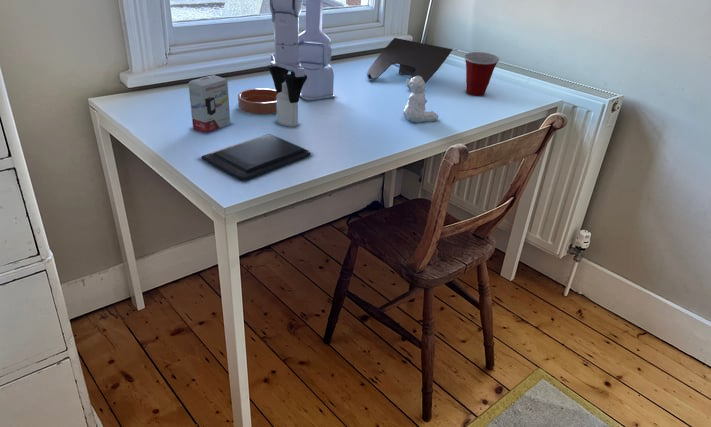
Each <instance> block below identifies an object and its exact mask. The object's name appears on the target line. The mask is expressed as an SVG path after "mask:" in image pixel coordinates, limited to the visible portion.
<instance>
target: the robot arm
mask: <svg viewBox="0 0 711 427" xmlns="http://www.w3.org/2000/svg"><path fill="white" fill-rule="evenodd" d="M302 8H303V0H269V10H270V13H271V22H272V23H273V35H274V36H273V37H274V39H273V40H274V53H272V54H270V64H269V65H267V69H268V71H269V74H270V76H271V78H272V81H273V85H274V88H275V89H274V90H276V93H277V94H278V93H279V92H282V83H284V82H286V85H287V89H288V97H289V101H290V103H297V102H298V103H299V101H300V98H302V99H303V100H305V101H309V102H310V101H315V100H323V99H331V98H335V95H334V82H335V81H334V80H335V74H334V70H333V68H332V66H331V65H330V64H331V60H332V41H331V38H330V37H329V36H328V35H327V34H326V33H325V32H324V31H323V12H324V11H323V10H324V0H305V23H304V24H305V25H304V31H303V32H301V33H299V32H300V30H299V17H300V15H301V13H302ZM289 72H290V73H289Z"/></svg>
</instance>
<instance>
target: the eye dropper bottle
mask: <svg viewBox="0 0 711 427" xmlns="http://www.w3.org/2000/svg"><path fill="white" fill-rule="evenodd" d="M276 108H277V113H276V122H277V124H279V125H281V126H285V127H289V128H293V127H296V126H298V124H299V101H298V102H297V103H290V101H289V97H288V89H287V85H286V82H284V83H282V92H279V93H278V94H277V96H276Z"/></svg>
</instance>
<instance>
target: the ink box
mask: <svg viewBox="0 0 711 427" xmlns="http://www.w3.org/2000/svg"><path fill="white" fill-rule="evenodd" d="M228 82H229V81H228V79H227V78H225V77H221V76H219V75H218V76H217V75H215V74H213V75H208V76H204V77H200V78H197V79H192V80H190V81H189V82H188V93H189V102H190V111H191V120H192V122H191V123H192V129H193V130H196V131H199V132H202V133H206V134H208V133H210V132H214V131H216V130H218V129H221V128H224V127H226V126H229V125H231V113H230V112H231V110H230V98H229V96H230V95H229V84H228Z"/></svg>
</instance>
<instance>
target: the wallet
mask: <svg viewBox="0 0 711 427" xmlns="http://www.w3.org/2000/svg"><path fill="white" fill-rule="evenodd" d="M310 156H311V152H310V150H309V149H307V148H304V147H302V146H300V145H297V144H295V143H292V142H290V141H288V140H285V139H283V138H281V137H278V136H277V135H274V134H271V133H268V134H265V135H262V136H261V135H260V136H258V137H255V138H251V139H249V140H245V141H243V142H239V143H237V144H234V145H230V146H227V147H224V148H221V149H218V150H214V151H212V152H210V153H206V154H203V155H201V160H203V161H205V162H206V163H208V164H209V165H211V166H212V167H215V168H217V169H219V171H222V172H223V173H226V174H228V175H229V176H231V177H233V178H235V179H237V180H239V181H244V182H247V181H250V180H252V179H254V178H257V177H260V176H262V175H265V174H267V173H270V172H273V171H275V170H277V169H279V168H282V167H285V166H288V165H291V164H293V163H295V162H299V161H301V160H304V159H306V158H308V157H310Z"/></svg>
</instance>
